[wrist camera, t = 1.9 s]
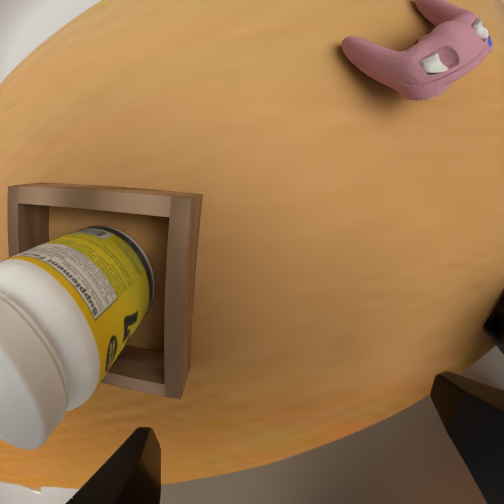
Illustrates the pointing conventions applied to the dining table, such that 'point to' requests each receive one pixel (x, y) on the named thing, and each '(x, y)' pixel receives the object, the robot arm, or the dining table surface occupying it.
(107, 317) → the supplement bottle
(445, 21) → the video game controller
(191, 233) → the walnut holder
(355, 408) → the dining table surface
